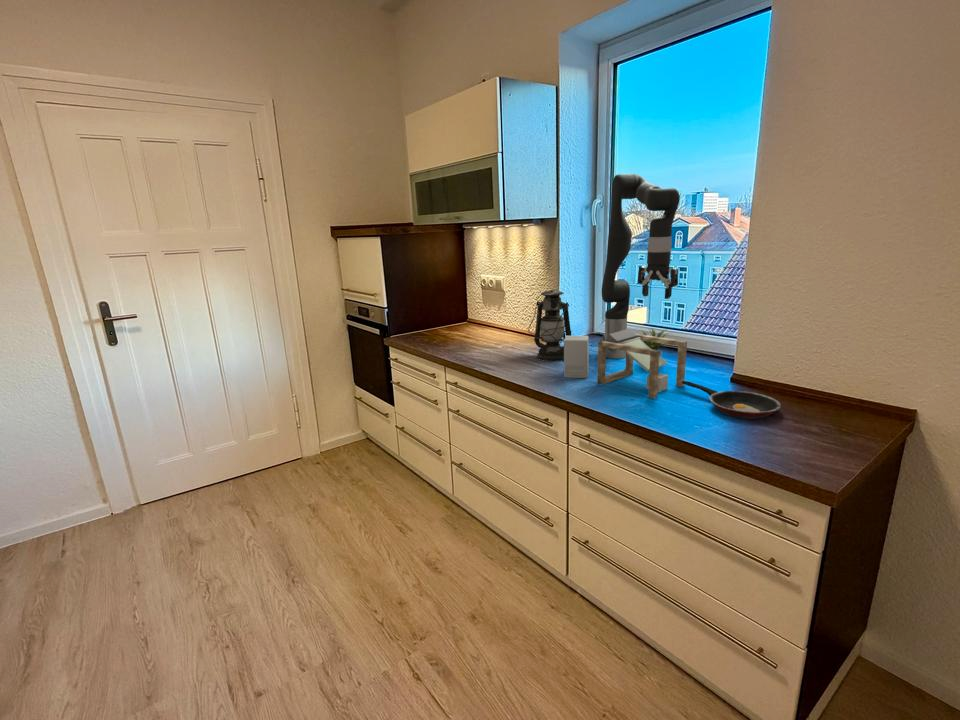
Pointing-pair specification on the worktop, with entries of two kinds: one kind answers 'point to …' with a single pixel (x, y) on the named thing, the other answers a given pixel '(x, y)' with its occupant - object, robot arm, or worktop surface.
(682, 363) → the frame
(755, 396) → the frying pan
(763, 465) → the worktop surface
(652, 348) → the house plant
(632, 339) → the trapdoor
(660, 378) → the cube
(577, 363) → the supplement box
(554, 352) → the lantern
